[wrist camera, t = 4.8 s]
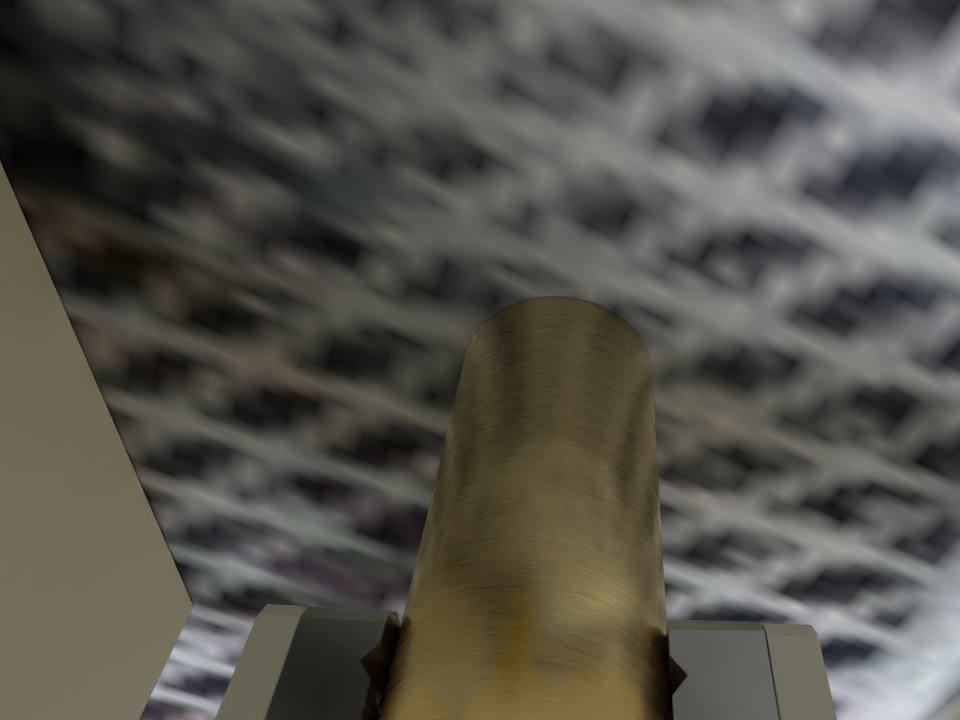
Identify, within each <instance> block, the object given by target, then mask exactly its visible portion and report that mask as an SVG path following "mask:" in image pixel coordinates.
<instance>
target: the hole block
mask: <svg viewBox="0 0 960 720" xmlns="http://www.w3.org/2000/svg"><path fill="white" fill-rule="evenodd" d="M192 608H193V604H192V602H191V599H190V597H189V595H188V593H187V590H186V588H185V586H184V583H183V581H182V579H181V576H180V574H179V572H178V570H177V567H176V565H175V563H174V560H173V558H172V556H171V553H170V551H169V549H168V547H167V544H166V542H165V540H164V537H163V535H162V533H161V530H160V528H159V526H158V523H157V521H156V519H155V517H154V514H153V512H152V510H151V507H150V505H149V503H148V500H147V498H146V496H145V494H144V491H143V489H142V487H141V484H140V482H139V480H138V477H137V475H136V473H135V471H134V468H133V466H132V464H131V461H130V459H129V457H128V454H127V452H126V450H125V448H124V445H123V443H122V441H121V438H120V436H119V434H118V431H117V429H116V427H115V424H114V422H113V420H112V418H111V415H110V413H109V411H108V408H107V406H106V404H105V401H104V399H103V397H102V395H101V392H100V390H99V388H98V385H97V383H96V381H95V378H94V376H93V374H92V372H91V369H90V367H89V365H88V362H87V360H86V358H85V355H84V353H83V351H82V349H81V346H80V344H79V342H78V339H77V337H76V335H75V332H74V330H73V328H72V325H71V323H70V321H69V319H68V316H67V314H66V312H65V309H64V307H63V305H62V302H61V300H60V298H59V296H58V293H57V291H56V289H55V286H54V284H53V282H52V279H51V277H50V275H49V273H48V270H47V268H46V266H45V263H44V261H43V259H42V256H41V254H40V252H39V250H38V247H37V245H36V243H35V240H34V238H33V236H32V233H31V231H30V229H29V227H28V224H27V222H26V220H25V217H24V215H23V213H22V210H21V208H20V206H19V203H18V201H17V199H16V197H15V194H14V192H13V190H12V187H11V185H10V183H9V180H8V178H7V176H6V174H5V171H4V169H3V167H2V164H1V162H0V720H139V718H140V716H141V714H142V712H143V710H144V708H145V706H146V704H147V702H148V700H149V698H150V695H151V693H152V691H153V689H154V687H155V685H156V683H157V681H158V679H159V677H160V675H161V673H162V670H163V668H164V666H165V664H166V662H167V660H168V658H169V656H170V654H171V652H172V650H173V647H174V645H175V643H176V641H177V639H178V637H179V635H180V633H181V631H182V629H183V627H184V625H185V622H186V620H187V618H188V616H189V614H190V612H191V610H192Z"/></svg>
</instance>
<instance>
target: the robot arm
mask: <svg viewBox="0 0 960 720" xmlns="http://www.w3.org/2000/svg"><path fill="white" fill-rule="evenodd" d="M400 628H401V626H400V622H399V619H398V615H397V612H390V611H374V610H358V609H342V608H326V607H311V606H291V605H268V604H267V605H266V606H265V607H264V609H263V610H262V611H261V612H260V614H259V615H258V616H257V617H256V620H255V622H254V624H253V627H252V629H251V632H250V634H249V637H248V639H247V642H246V644H245V647H244V649H243V652H242V654H241V657H240V659H239V661H238V664H237V666H236V669H235V671H234V674H233V676H232V679H231V681H230V684H229V686H228V689H227V691H226V693H225V696H224V698H223V701H222V703H221V706H220V708H219V711H218V713H217V716H216V718H215V720H379V716H380V711H381V707H382V703H383V699H384V695H385V690H386V686H387V682H388V678H389V674H390V670H391V665H392V661H393V657H394V653H395V649H396V644H397V640H398V636H399V632H400ZM665 639H666V659H667V680H668V691H669V696H670V700H671V720H837V718H836V714H835V709H834V705H833V701H832V696H831V692H830V687H829V683H828V679H827V674H826V670H825V665H824V661H823V657H822V652H821V648H820V643H819V639H818V635H817V633H816V632H815V630H814V629H813V627H812V626H811V625H795V624H760V622H730V621H686V620H667V623H666V636H665Z"/></svg>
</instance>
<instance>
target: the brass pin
mask: <svg viewBox="0 0 960 720" xmlns="http://www.w3.org/2000/svg"><path fill="white" fill-rule="evenodd" d="M665 636H666V607H665V589H664V572H663V554H662V536H661V519H660V501H659V483H658V466H657V448H656V430H655V412H654V395H653V377H652V366H651V361H650V357H649V355H648V352H647V350H646V347H645V345H644V344H643V342H642V341H641V339H640V337H639V336H638V335H637V334H636V332H635V331H634V330H633V329H632V328H631V327H630V326H629V325H628V324H627V323H626V322H625V321H623V320H622V319H621V318H619V317H618V316H616V315H615V314H614V313H612V312H610V311H608V310H606V309H604V308H602V307H600V306H597V305H595V304H592V303H589V302H585V301H582V300H578V299H571V298H561V297H547V298H537V299H532V300H527V301H523V302H520V303H517V304H514V305H512V306H510V307H508V308H505V309H503V310H502V311H500V312H498V313H497V314H495V315H494V316H492V317H491V318H490V319H489V320H488V321H486V322H485V323H484V324H483V325H482V326H481V327H480V329H479V330H478V331H477V332H476V334H475V335H474V337H473V338H472V340H471V342H470V344H469V346H468V349H467V352H466V356H465V359H464V364H463V368H462V372H461V376H460V380H459V385H458V389H457V393H456V397H455V401H454V406H453V410H452V414H451V418H450V422H449V427H448V431H447V435H446V439H445V443H444V447H443V452H442V456H441V460H440V464H439V468H438V473H437V477H436V481H435V485H434V489H433V494H432V498H431V502H430V506H429V510H428V515H427V519H426V523H425V527H424V531H423V535H422V540H421V544H420V548H419V552H418V556H417V561H416V565H415V569H414V573H413V577H412V582H411V586H410V590H409V594H408V598H407V602H406V607H405V611H404V615H403V619H402V623H401V628H400V632H399V636H398V640H397V644H396V649H395V653H394V657H393V661H392V665H391V670H390V674H389V678H388V682H387V686H386V690H385V695H384V699H383V703H382V707H381V711H380V716H379V720H671V700H670V696H669V691H668V680H667V659H666V639H665Z"/></svg>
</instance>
